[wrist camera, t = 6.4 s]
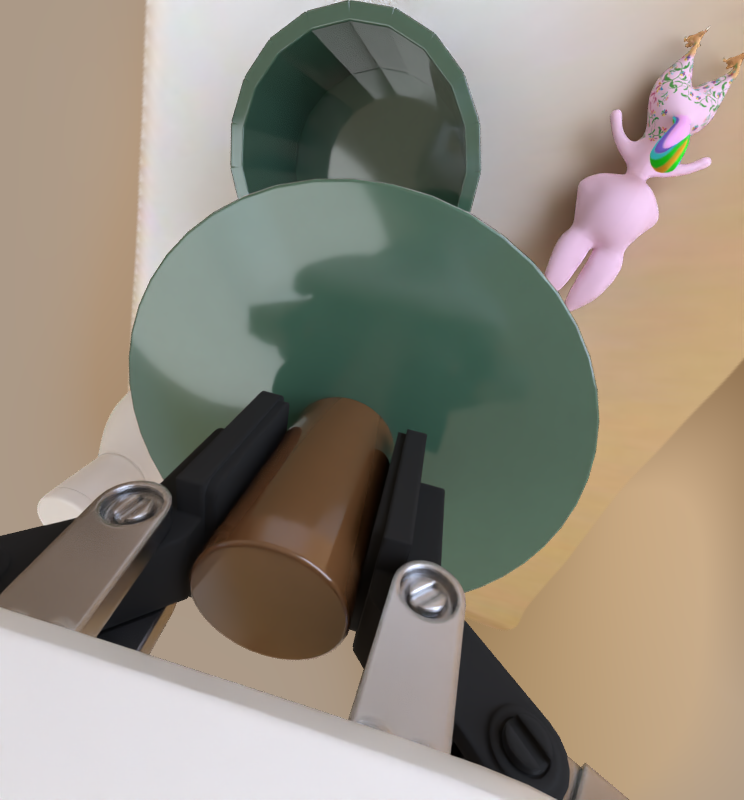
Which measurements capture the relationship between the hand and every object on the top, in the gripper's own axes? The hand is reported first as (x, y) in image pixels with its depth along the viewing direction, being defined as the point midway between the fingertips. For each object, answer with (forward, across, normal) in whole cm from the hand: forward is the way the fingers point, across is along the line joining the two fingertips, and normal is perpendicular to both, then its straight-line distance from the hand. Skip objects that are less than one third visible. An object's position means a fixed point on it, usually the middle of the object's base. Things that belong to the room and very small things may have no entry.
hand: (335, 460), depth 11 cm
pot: (+22, +4, -7) cm, 24 cm away
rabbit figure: (+23, -11, -9) cm, 27 cm away
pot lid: (+2, 0, 0) cm, 2 cm away
